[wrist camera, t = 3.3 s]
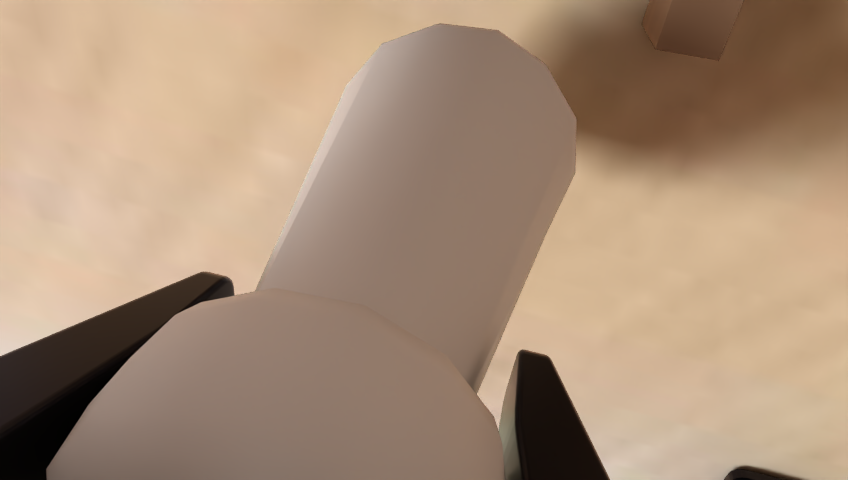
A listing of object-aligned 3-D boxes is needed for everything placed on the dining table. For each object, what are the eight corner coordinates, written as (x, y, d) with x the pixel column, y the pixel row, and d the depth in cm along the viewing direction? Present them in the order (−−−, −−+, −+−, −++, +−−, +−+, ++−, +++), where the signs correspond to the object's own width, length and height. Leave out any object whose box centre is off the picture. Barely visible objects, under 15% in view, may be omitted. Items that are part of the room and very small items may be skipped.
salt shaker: (600, 23, 13) (755, 556, 3) (552, 226, 16) (528, 857, 6) (367, -6, 14) (-273, 304, 3) (362, 193, 17) (22, 689, 6)
